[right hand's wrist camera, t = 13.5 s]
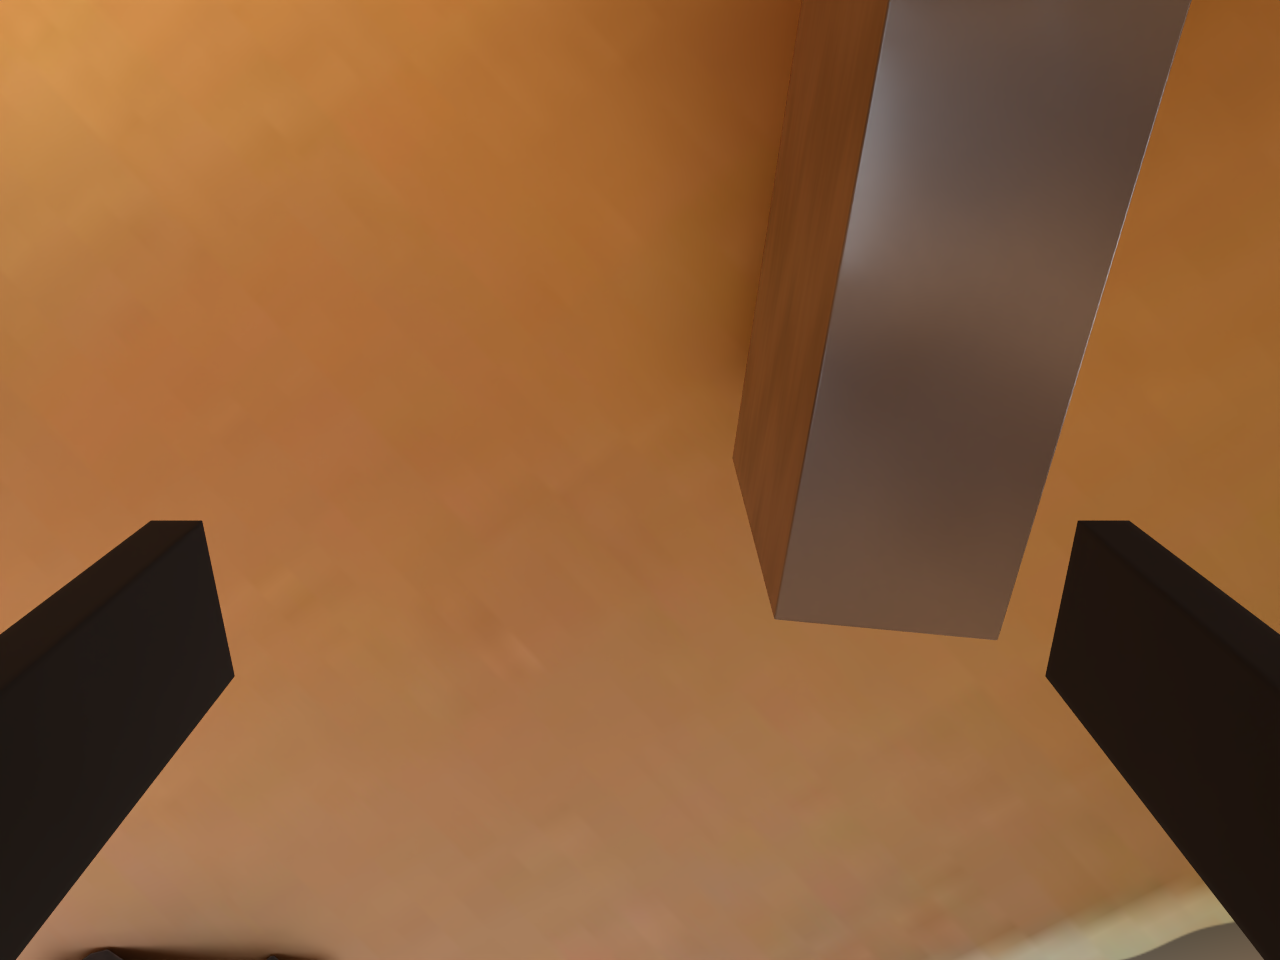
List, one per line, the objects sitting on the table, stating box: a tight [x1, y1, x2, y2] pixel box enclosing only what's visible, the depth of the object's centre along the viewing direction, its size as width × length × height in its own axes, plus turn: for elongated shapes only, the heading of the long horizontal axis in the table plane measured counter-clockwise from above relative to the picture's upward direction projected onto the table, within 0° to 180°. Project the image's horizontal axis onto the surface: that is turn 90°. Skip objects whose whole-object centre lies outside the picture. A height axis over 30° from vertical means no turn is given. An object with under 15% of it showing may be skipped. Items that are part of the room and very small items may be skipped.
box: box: [733, 0, 1191, 640], centre depth 24 cm, size 24×6×12 cm, turn 174°
